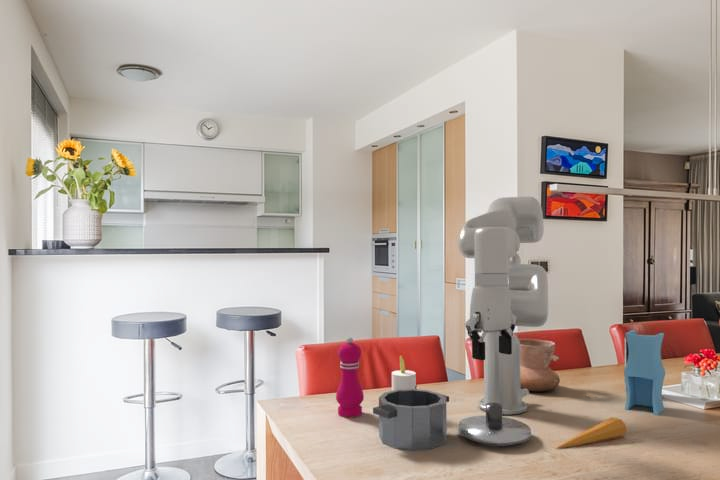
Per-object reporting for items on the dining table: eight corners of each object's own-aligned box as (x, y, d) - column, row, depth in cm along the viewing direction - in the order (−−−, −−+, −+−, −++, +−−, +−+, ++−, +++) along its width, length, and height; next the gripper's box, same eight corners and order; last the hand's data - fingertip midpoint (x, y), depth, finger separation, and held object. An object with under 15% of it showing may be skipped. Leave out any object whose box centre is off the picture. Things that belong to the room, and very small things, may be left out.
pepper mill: (360, 418, 135) (360, 339, 135) (333, 417, 136) (332, 339, 136) (366, 410, 142) (365, 335, 142) (339, 408, 143) (339, 334, 143)
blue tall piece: (665, 408, 141) (664, 332, 142) (657, 415, 136) (656, 336, 136) (633, 402, 147) (632, 330, 147) (624, 409, 141) (623, 333, 141)
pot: (419, 420, 133) (418, 384, 133) (465, 436, 122) (465, 396, 122) (359, 438, 121) (358, 398, 121) (404, 458, 109) (404, 414, 109)
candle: (415, 417, 135) (415, 358, 135) (390, 416, 137) (389, 357, 137) (418, 410, 141) (417, 353, 142) (393, 409, 143) (393, 352, 143)
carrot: (618, 436, 123) (610, 416, 125) (633, 435, 119) (624, 414, 121) (552, 460, 115) (544, 438, 116) (566, 459, 111) (558, 436, 113)
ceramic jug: (573, 391, 159) (573, 343, 159) (540, 398, 151) (540, 348, 151) (526, 378, 174) (525, 335, 174) (494, 385, 167) (493, 339, 167)
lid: (486, 421, 132) (486, 391, 132) (545, 439, 120) (545, 406, 120) (443, 436, 122) (443, 403, 122) (502, 458, 110) (502, 421, 110)
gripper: (500, 279, 130) (501, 349, 129) (453, 282, 119) (454, 359, 119) (527, 280, 124) (528, 354, 124) (480, 283, 113) (481, 364, 113)
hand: (492, 356), depth 121 cm, fingers open, 9 cm apart
